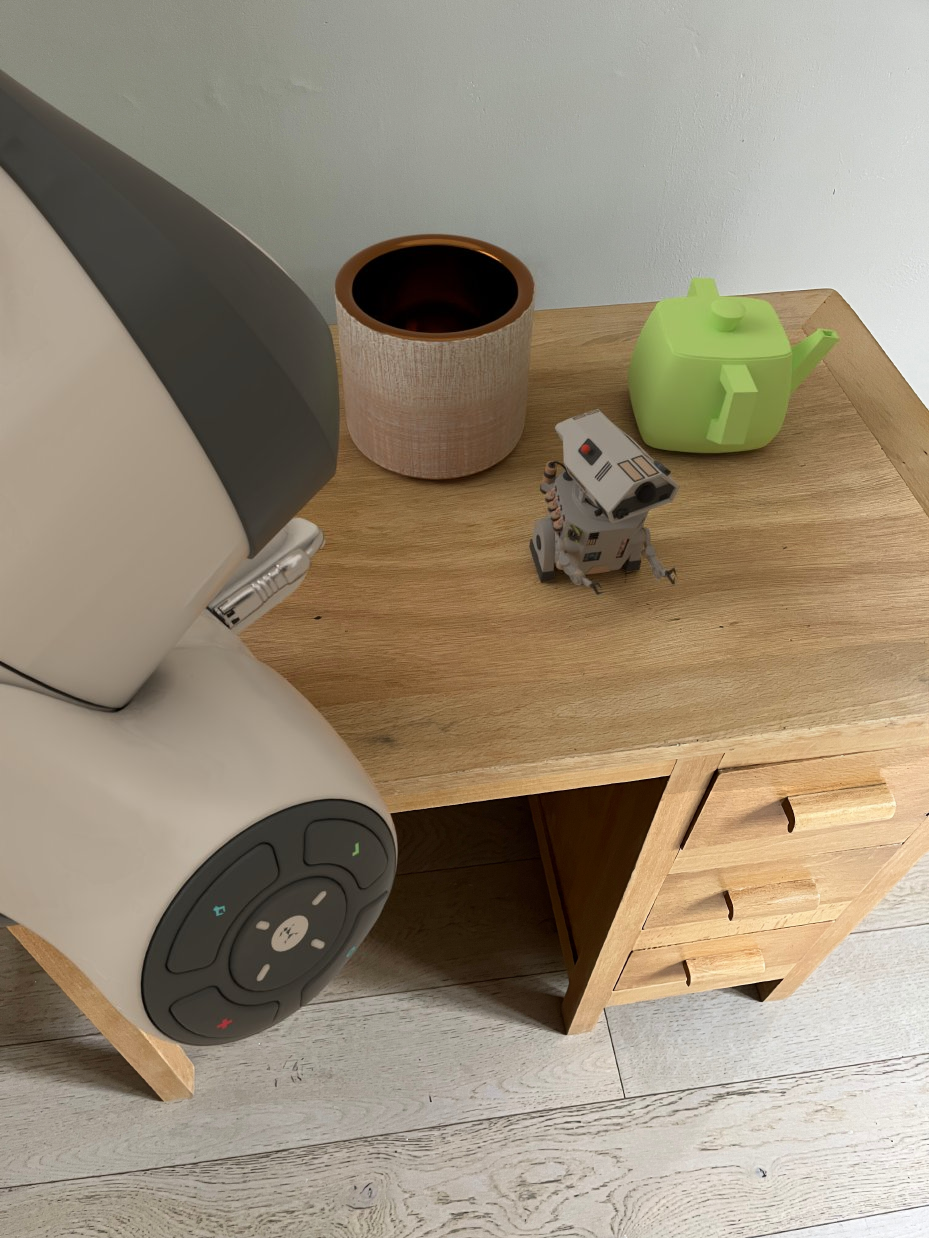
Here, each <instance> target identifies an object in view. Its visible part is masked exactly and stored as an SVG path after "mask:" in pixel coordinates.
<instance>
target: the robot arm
mask: <svg viewBox="0 0 929 1238" xmlns="http://www.w3.org/2000/svg"><path fill="white" fill-rule="evenodd" d="M336 356H337V355H336V349H335V345H334V339H333V334H332V331H331V329H330V326H329V325H328V322H327V320H326V319H325V317H324V316H323V314H322V313H321V311H320V310H319V309H318V308H317V306H316V305H315V304H314V302H313V301H312V300H311V299H310V297H309V296H308V295H307V294H306V293H305V292H304V291H303V290H302V288H301V287H300V286H299V285H298V284H297V283H296V282H295V281H294V279H293V278H292V277H291V276H290V275H289V273H288V272H287V271H286V270H285V269H284V268H283V266H281V264H280V263H278V262H277V261H276V260H275V259H274V258H273V257H272V256H271V255H270V254H269V253H268V252H267V251H266V250H265V249H264V248H262V247H261V246H260V245H259V244H258V243H256V242H255V241H254V240H253V239H251V238H250V237H249V236H248V235H246V234H245V232H243V231H241V230H240V229H239V228H238V227H236V226H234V225H233V224H232V223H230V222H229V221H227V220H226V219H225V218H223V217H222V216H221V215H219V214H217V213H216V212H214V211H213V210H212V209H209V208H208V207H206V206H205V205H204V204H202V203H201V202H199V201H198V200H196V199H195V198H194V197H193V196H191V195H189V194H188V193H186V192H185V191H183V190H182V189H181V188H179V187H177V186H176V185H174V184H173V183H172V182H170V181H169V180H168V179H165V178H164V177H162V176H161V175H160V174H158V173H157V172H155V171H154V170H152V169H151V168H149V167H148V166H146V165H144V164H143V163H142V162H140V161H139V160H137V159H136V158H133V157H132V156H131V155H129V154H127V152H124V151H123V150H121V149H120V148H118V147H117V146H115V145H113V144H112V143H111V142H109V141H107V140H106V139H104V138H102V137H101V136H100V135H98V134H97V133H95V132H93V131H92V130H90V129H89V128H87V127H85V125H83V124H81V123H80V122H78V121H76V120H75V119H73V118H72V117H70V116H69V115H67V114H66V113H64V112H63V111H61V110H59V109H58V108H56V107H55V106H53V105H52V104H51V103H49V102H48V101H46V100H45V99H43V98H42V97H40V96H39V95H37V94H36V93H35V92H33V91H32V90H30V89H29V88H27V87H26V86H24V84H22V83H21V82H19V81H18V80H16V79H15V78H14V77H12V75H9V74H8V73H7V72H5V70H2V69H1V68H0V928H5V927H13V926H14V927H15V926H22V927H24V928H25V929H27V930H28V931H30V932H31V933H33V934H35V935H36V936H38V937H40V938H41V939H43V940H44V941H45V942H47V943H48V944H50V945H51V946H52V947H54V948H55V949H56V950H58V951H59V952H60V953H61V954H62V955H63V956H65V957H66V959H68V960H69V961H70V962H71V963H72V964H73V965H75V966H76V968H77V969H78V970H79V971H80V972H81V973H82V974H83V975H84V976H85V977H86V978H87V979H88V980H89V981H90V982H91V983H92V984H93V985H94V987H95V988H96V989H97V990H98V991H99V992H100V993H101V994H102V996H103V997H104V998H105V999H106V1000H107V1002H109V1004H111V1005H112V1006H113V1007H114V1009H116V1011H118V1013H120V1015H122V1017H123V1018H124V1019H126V1021H128V1022H129V1023H131V1025H133V1026H135V1028H137V1029H139V1030H140V1031H142V1032H144V1033H145V1034H147V1035H149V1036H151V1037H153V1038H155V1039H158V1040H160V1041H163V1042H167V1043H170V1044H174V1045H178V1046H181V1047H184V1048H196V1049H198V1048H211V1047H219V1046H223V1045H227V1044H228V1045H229V1044H232V1043H237V1042H239V1041H242V1040H245V1039H248V1038H250V1037H253V1036H256V1035H258V1034H260V1033H262V1032H264V1031H266V1030H269V1029H271V1028H272V1027H274V1026H275V1025H278V1024H279V1023H281V1022H283V1021H285V1020H286V1019H288V1018H289V1017H290V1016H292V1015H293V1014H295V1013H296V1012H298V1011H299V1010H300V1009H302V1008H303V1007H304V1006H306V1005H307V1004H309V1003H310V1002H311V1001H312V1000H314V999H315V998H316V997H317V996H318V995H319V994H320V993H322V992H323V990H324V989H325V988H326V987H327V986H328V985H329V984H330V983H331V982H332V981H333V979H335V977H336V976H337V975H338V973H340V971H341V970H342V969H343V968H344V966H345V965H346V964H347V963H348V961H349V960H350V959H351V958H352V957H353V955H354V953H355V952H356V951H357V949H358V948H359V947H360V945H361V944H362V943H363V941H364V940H365V939H366V937H367V935H368V934H369V933H370V931H371V929H372V928H373V927H374V925H375V923H376V922H377V920H378V919H379V917H380V915H381V914H382V910H383V909H384V906H385V904H386V902H387V901H388V899H389V896H390V894H391V892H392V890H393V886H394V882H395V877H396V872H397V865H398V845H399V844H398V835H397V830H396V827H395V824H394V821H393V818H392V815H391V812H390V810H389V808H388V805H387V804H386V802H385V800H384V798H383V796H382V795H381V792H380V791H379V789H378V787H377V786H376V784H375V783H374V781H373V780H372V778H371V776H370V775H369V773H368V772H367V770H366V769H365V767H364V766H363V765H362V763H361V762H360V761H359V760H358V758H357V756H355V754H354V753H353V751H352V750H351V749H350V747H349V746H348V744H347V743H346V741H345V740H344V739H343V738H342V737H341V735H340V734H339V732H337V731H336V729H335V728H334V727H333V726H332V725H331V723H329V721H328V720H327V719H326V717H324V715H323V714H322V713H321V712H320V711H319V710H318V709H317V708H316V707H315V706H314V705H313V704H312V703H311V702H310V701H309V699H308V698H307V697H306V696H304V695H303V693H301V692H300V690H298V689H297V688H296V687H295V686H294V685H293V684H292V683H290V682H289V681H288V680H287V679H286V677H284V676H283V675H281V673H279V672H277V671H276V670H275V669H274V668H272V667H271V666H269V665H268V664H266V663H264V662H262V661H261V660H259V659H257V658H256V657H255V655H254V654H253V652H252V650H251V649H250V648H249V647H248V645H247V644H246V643H245V642H244V641H243V640H242V639H241V638H240V637H239V636H238V635H239V634H240V633H242V632H243V631H244V630H246V629H247V628H249V627H250V626H251V625H252V624H254V623H255V622H256V621H258V620H259V619H260V618H262V617H263V616H264V615H265V614H267V613H269V612H270V611H271V610H272V609H274V608H275V607H276V606H278V605H279V604H280V603H282V602H283V601H285V600H286V599H287V598H288V597H289V596H290V595H291V594H292V593H294V592H295V591H296V590H297V589H298V588H299V587H300V586H301V584H302V583H303V582H304V580H305V578H306V577H307V574H308V572H309V570H310V569H311V568H312V567H313V563H312V560H311V559H312V558H313V557H314V556H315V555H316V554H317V553H318V552H319V550H320V549H322V548H323V547H324V546H325V545H326V538H325V533H324V531H323V530H322V528H321V527H319V526H318V525H317V524H316V523H314V522H311V520H307V519H306V518H303V517H296V516H297V515H298V514H299V512H301V511H302V509H304V507H305V506H306V505H307V504H308V503H309V502H311V501H312V499H313V498H315V496H317V494H318V493H319V492H321V490H322V489H323V488H324V487H325V486H326V485H327V484H328V483H329V482H330V481H331V480H332V479H333V478H334V477H335V475H336V473H337V465H338V456H339V447H340V446H339V445H340V424H341V423H340V421H341V419H340V418H341V417H340V416H341V414H340V413H341V404H340V384H339V371H338V364H337V363H338V362H337V357H336Z"/></svg>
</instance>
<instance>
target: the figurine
mask: <svg viewBox="0 0 929 1238" xmlns="http://www.w3.org/2000/svg"><path fill="white" fill-rule="evenodd" d="M554 429H555V431H556V433H557V435H558V437H559V438H560V440H561V441H562V443H563V444H562V449H563V452H562V453H563V463H561V462H559V461H557V460H554V461H553V460H549V461H547V462H546V463H545V467H544V470H543V476H542V480H541V484H540V485H539V491H540V492H541V494H543V495H544V496H545V498H544V502H545V503H546V504H547V509H546V510H547V514H546V517H545V518H538V519H536V521H535V523H534V527H533V533H532V538H530V541H529V545H528V546H529V550H530V552H531V556H532V559H533V563H534V565H535V568H536V569H535V570H536V571H537V572H536V573H537V575H538V578H539V581H540V583H547V582H554V581H556V580H555V579H556V578H555V577H556V571H555V568H554V567H555V566H556V568H557V569H558V570H559V571H560V570H561V571H562V570H563V571H564V573H565V574H566V575H567V576H568V577H569V579H570V581H571V582H572V584H573V585H575V586H578V587H579V586H581V585H584V586H586V587H588V588H589V587H590V588H591V589H592V590H593V591H594V593H595V594H596V596H599V595H602V594H604V591H599V590H598V587H599V588H600V589H601V590H603V589H602V585H601V584H600V581H595V582H593V581H591V580H589V579H588V578H586V575H593V574H600V573H601V574H602V573H607V572H608V573H609V572H611V571H617V570H618V571H619V570H621V568H622V567H624V571H626V573H629V572H637V571H638V572H639V571H640V570H641V565H642V560H641V559H645V560H647V563H648V564H649V566H650V570H651V573H652V576H653V577H654V578H655V579H656V580H657V581H661V580H662V578H667V579H668V580H669V582H670V584H671V585H672V586H674V585H675V584H676V583H675V582H676V581H675V580H676V578H675V577H677V570H676V568H675V567H672V568H671V569H669V570H668V569H666V568H665V566H664V564H663V563H662V562H661V561H659V559H658V556H657V555H656V548H655V547H654V546H653V545H651V543H650V542H651V532H650V529H649V527H648V526H647V527H645V526H644V525H645V521H646V519H647V517H648V514H649V512H650V511H652V510H654V509H656V508H660V507H662V506H664V505H667V504H670V503H672V502H673V501H674V499H675V498H676V496H677V494H678V492H679V490H680V488H681V485H680V484H679V483H678V482H676V481H675V479H673V478H672V476H671V473H672V471H671V470H670V469H669V468H668V467H666V466H665V465H664V464H663V463H661V462H660V461H659V460H658V459H654V458H652V457H651V456H650V455H649V453H647V451H646V450H645V449H644V448H643V447H642V446H641V445H640V444H639V443H637V442H636V441H635V439H634V438H633V437H631V436H630V435H628V434H627V433H626V432H625V431H624V430H622V429H621V428H620V427H619V426H617V425H616V424H615V423H613V422H612V421H611V420H610V419H609V418H608V417H607V416H606V415H605V414H604V413H603V412H602V411H601V410H600V409H599V408H596V409H594V410H590V411H587V412H584V413H581V414H578V415H575V416H572V417H569V418H568V419H565V420H563V421H561V422H558V423H556V425H555V427H554ZM558 465H559V466H560V467H561V468H562V469H563V470H562V471H561V472H560V474H558V475H557V472H558V471H557V470H558ZM672 573H674V576H675V577H673V578H672V576H671V575H672ZM597 586H598V587H597Z"/></svg>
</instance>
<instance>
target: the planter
mask: <svg viewBox="0 0 929 1238" xmlns="http://www.w3.org/2000/svg"><path fill="white" fill-rule="evenodd" d="M333 290H334V303H335V310H336V311H335V312H336V320H337V332H338V343H339V354H340V355H339V356H340V364H341V376H342V377H341V378H342V389H343V390H342V391H343V402H344V412H345V421H346V426H347V430H348V434H349V437H350V438H351V440H352V442H353V444H354V445H355V447H356V449H358V451H359V452H360V453H361V454H362V455H363V456H365V458H367V459H368V460H369V461H371V462H373V464H375V465H377V466H379V467H381V468H383V469H385V470H387V471H390V472H393V473H395V474H398V475H402V476H405V477H409V478H413V479H414V478H416V479H421V480H451V479H458V478H464V477H467V476H471V475H475V474H478V473H481V472H483V471H486V470H488V469H489V468H491V467H493V466H495V465H496V464H498V463H500V462H501V461H503V460H504V459H506V458H507V457H508V456H509V455H510V454H511V453H512V452H513V450H514V449H515V448H516V447H517V445H518V444H519V442H520V441H521V438H522V435H523V432H524V428H525V423H526V416H527V404H528V391H529V390H528V389H529V378H530V362H531V351H532V338H533V336H532V335H533V327H534V313H535V303H536V282H535V279H534V276H533V274H532V272H531V271H530V269H529V268H528V267H527V265H526V264H525V263H524V262H523V261H522V260H521V259H520V258H519V257H517V255H514V254H513V253H512V252H510V251H508V250H506V249H505V248H502V247H501V246H499V245H496V244H493V243H491V242H488V241H486V240H482V239H478V238H476V237H475V238H474V237H470V236H465V235H459V234H450V233H449V234H448V233H418V234H417V233H416V234H408V235H407V234H406V235H402V236H397V237H393V238H392V237H391V238H389V239H388V238H387V239H385V240H381V241H379V242H375V243H373V244H371V245H369V246H367V247H365V248H363V249H361V250H360V251H358V252H357V253H355V254H353V255H352V256H351V257H349V259H347V260H346V262H344V263H343V265H342V266H341V268H340V269H339V270H338V272H337V274H336V277H335V281H334V289H333Z"/></svg>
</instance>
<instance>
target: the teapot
mask: <svg viewBox="0 0 929 1238" xmlns="http://www.w3.org/2000/svg"><path fill="white" fill-rule="evenodd" d="M839 341H840V337H839V335H838V333H837V332H836V330H835V329H827V328H820V327H818V328H817V329H816V330H815V332H813V333H812V334H810V335H808V336H807V337H805V338H804V339H803V340H801V341H799V342H798V343H797V344H795V345H794V346H792V345H791V343H790V340H789V337H788V334H787V333H786V331H785V329H784V326H783V324H782V322H781V320H780V318H779V316H778V314H777V312H776V310H775V308H774V307H773V306H772V304H771V303H770V302H769V301H766V300H763V299H759V298H754V297H753V298H752V297H742V296H727V295H720V294H719V290H718V288H717V284H716V282H715V279H714V277H692V278H691V280H690V284H689V288H688V290H687V293H686V296H677V297H670V298H664V299H662V300H660V301H658V302H657V303H656V305H655V306H654V307H653V309H652V311H651V313H650V314H649V316H648V318H647V320H646V322H645V323H644V325H643V327H642V329H641V331H640V333H639V334H638V338H637V340H636V342H635V345H634V348H633V350H632V354H631V358H630V361H629V364H628V370H627V384H628V393H629V397H630V402H631V403H630V404H631V408H632V411H633V415H634V419H635V423H636V426H637V429H638V431H639V434H640V437H641V440H643V442H644V443H645V444H646V445H647V446H649V447H651V448H654V449H659V450H663V451H664V450H665V451H671V452H681V453H683V452H684V453H695V454H723V453H724V454H725V453H735V452H746V451H752V450H758V449H761V448H763V447H766V446H767V445H768V444H769V443H770V442H772V440H773V439H775V438H776V436H777V435H778V434H779V432H780V431H781V429H782V427H783V424H784V421H785V419H786V415H787V411H788V406H789V404H790V403H789V402H790V397H791V395H792V394H793V393H794V392H795V391H796V390H797V389H798V387H800V386H801V384H802V383H803V382H804V381H805V380H806V379H807V377H808V376H809V375H810V374H811V373H812V372H813V371H814V370H815V368H816V367H817V366H818V365H819V364H820V363H821V362H822V360H823V359H824V358H825V357H826V356H827V355H828V354H829V353H830V351H831V350H832V349H833V348H834V347H835V346H836V344H837V343H838V342H839Z"/></svg>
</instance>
